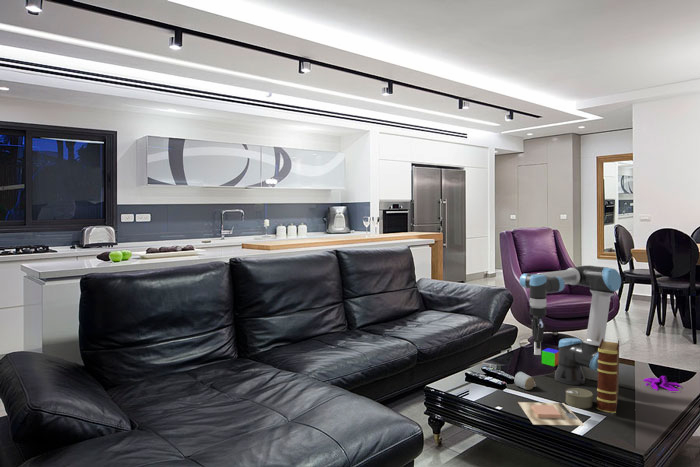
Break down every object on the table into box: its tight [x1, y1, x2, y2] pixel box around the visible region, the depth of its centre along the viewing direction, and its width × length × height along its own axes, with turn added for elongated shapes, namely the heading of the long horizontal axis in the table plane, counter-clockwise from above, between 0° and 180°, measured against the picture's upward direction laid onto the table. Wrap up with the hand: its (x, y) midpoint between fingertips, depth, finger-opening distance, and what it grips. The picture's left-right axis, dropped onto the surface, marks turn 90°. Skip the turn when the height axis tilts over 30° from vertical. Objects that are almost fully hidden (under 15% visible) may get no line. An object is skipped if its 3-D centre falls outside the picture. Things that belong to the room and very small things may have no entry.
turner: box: [558, 402, 578, 419], centre depth 224 cm, size 4×16×1 cm, turn 176°
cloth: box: [642, 375, 682, 392], centre depth 258 cm, size 22×19×6 cm
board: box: [517, 401, 585, 427], centre depth 222 cm, size 22×24×1 cm
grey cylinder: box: [514, 371, 537, 391], centre depth 257 cm, size 11×8×8 cm
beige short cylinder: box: [564, 387, 594, 409], centre depth 233 cm, size 12×12×7 cm
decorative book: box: [596, 339, 620, 414], centre depth 232 cm, size 22×8×30 cm, turn 148°
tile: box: [531, 405, 561, 419], centre depth 221 cm, size 10×2×10 cm
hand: (537, 354), depth 235 cm, fingers closed
